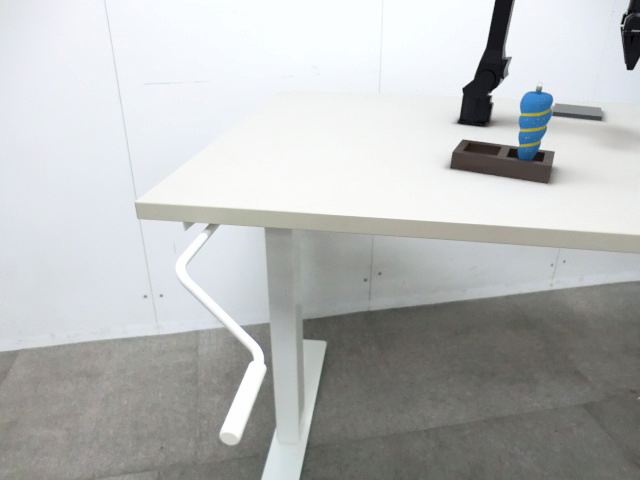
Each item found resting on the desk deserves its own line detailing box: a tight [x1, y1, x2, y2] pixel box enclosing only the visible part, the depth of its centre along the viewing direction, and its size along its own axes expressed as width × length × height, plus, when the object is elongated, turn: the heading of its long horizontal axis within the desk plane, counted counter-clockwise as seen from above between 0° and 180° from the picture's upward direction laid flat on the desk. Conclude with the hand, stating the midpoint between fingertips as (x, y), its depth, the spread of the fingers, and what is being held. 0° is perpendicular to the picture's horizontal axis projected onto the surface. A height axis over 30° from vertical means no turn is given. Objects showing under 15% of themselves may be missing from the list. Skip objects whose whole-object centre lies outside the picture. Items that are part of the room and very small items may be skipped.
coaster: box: [552, 102, 603, 122], centre depth 123 cm, size 11×11×1 cm
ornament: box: [517, 81, 554, 161], centre depth 81 cm, size 5×5×15 cm
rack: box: [449, 138, 556, 184], centre depth 85 cm, size 9×16×3 cm, turn 64°
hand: (628, 67), depth 96 cm, fingers open, 9 cm apart
